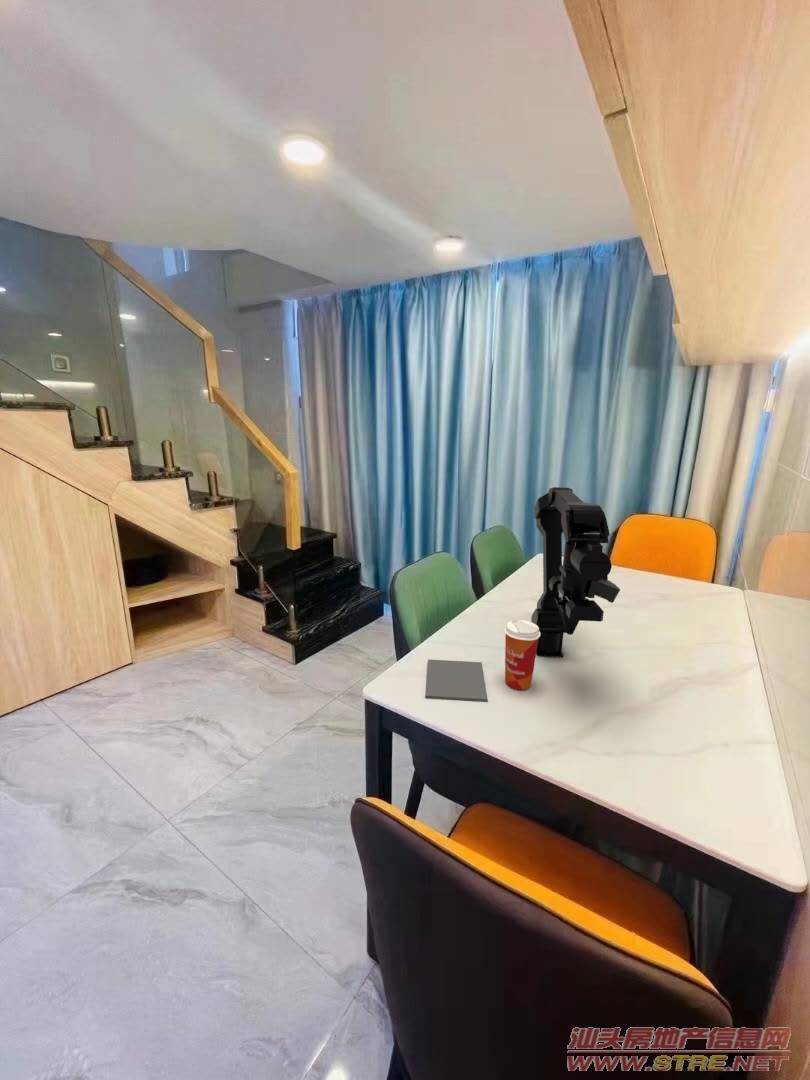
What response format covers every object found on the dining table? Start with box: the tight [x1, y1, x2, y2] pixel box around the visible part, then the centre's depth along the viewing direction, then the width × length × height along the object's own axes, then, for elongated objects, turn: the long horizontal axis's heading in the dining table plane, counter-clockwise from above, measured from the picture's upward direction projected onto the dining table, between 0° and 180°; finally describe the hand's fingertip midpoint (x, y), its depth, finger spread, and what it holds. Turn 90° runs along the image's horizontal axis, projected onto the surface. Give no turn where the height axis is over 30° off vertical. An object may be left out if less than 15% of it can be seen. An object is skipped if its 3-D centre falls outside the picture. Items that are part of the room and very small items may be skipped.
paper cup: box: [503, 619, 541, 692], centre depth 97 cm, size 8×8×14 cm
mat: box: [425, 659, 488, 703], centre depth 100 cm, size 13×15×1 cm
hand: (569, 633), depth 95 cm, fingers closed
